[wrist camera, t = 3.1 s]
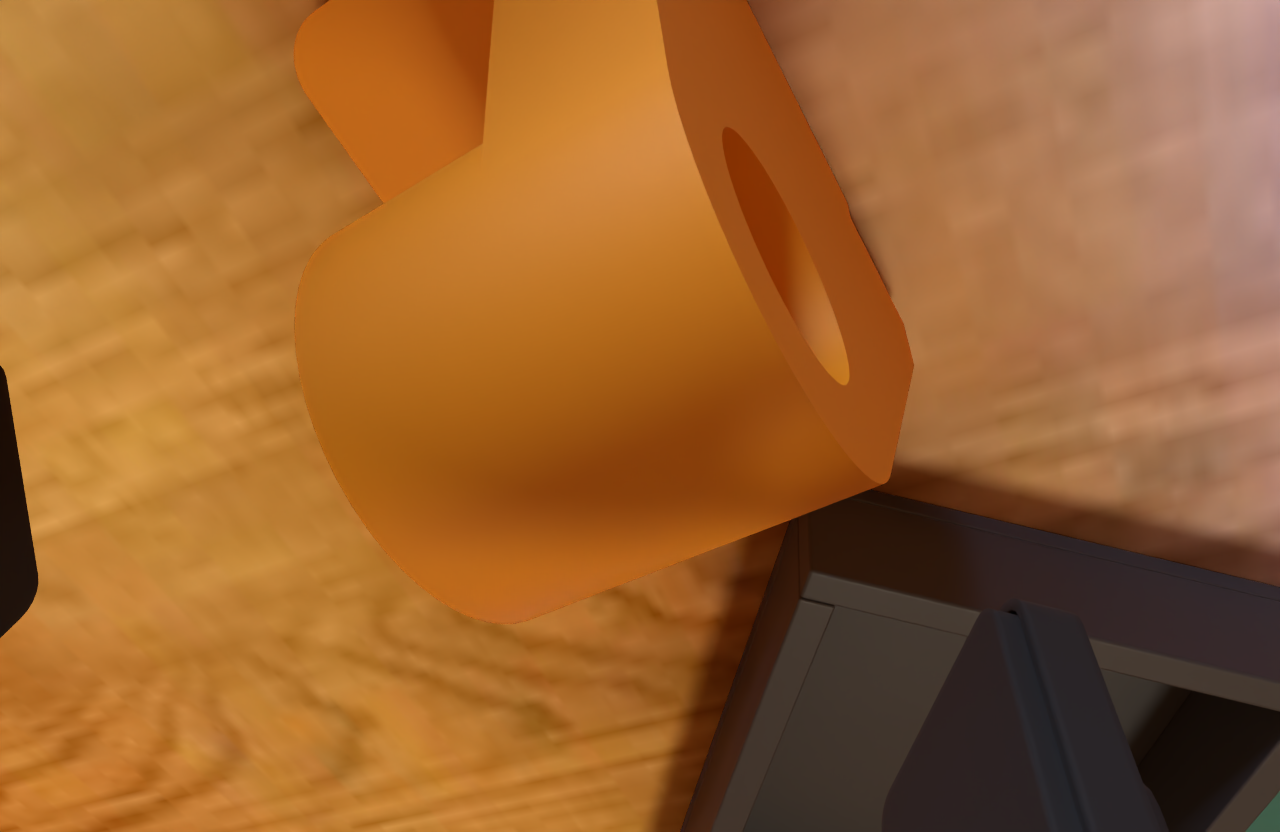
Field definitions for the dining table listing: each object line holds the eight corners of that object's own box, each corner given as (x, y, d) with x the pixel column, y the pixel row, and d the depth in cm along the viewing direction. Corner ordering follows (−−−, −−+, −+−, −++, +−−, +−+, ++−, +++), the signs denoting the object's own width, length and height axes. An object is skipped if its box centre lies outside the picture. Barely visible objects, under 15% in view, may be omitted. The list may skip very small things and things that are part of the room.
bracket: (330, 19, 19) (-186, 224, 9) (644, -206, 17) (424, -280, 6) (613, 435, 23) (481, 903, 13) (899, 307, 21) (1015, 763, 10)
